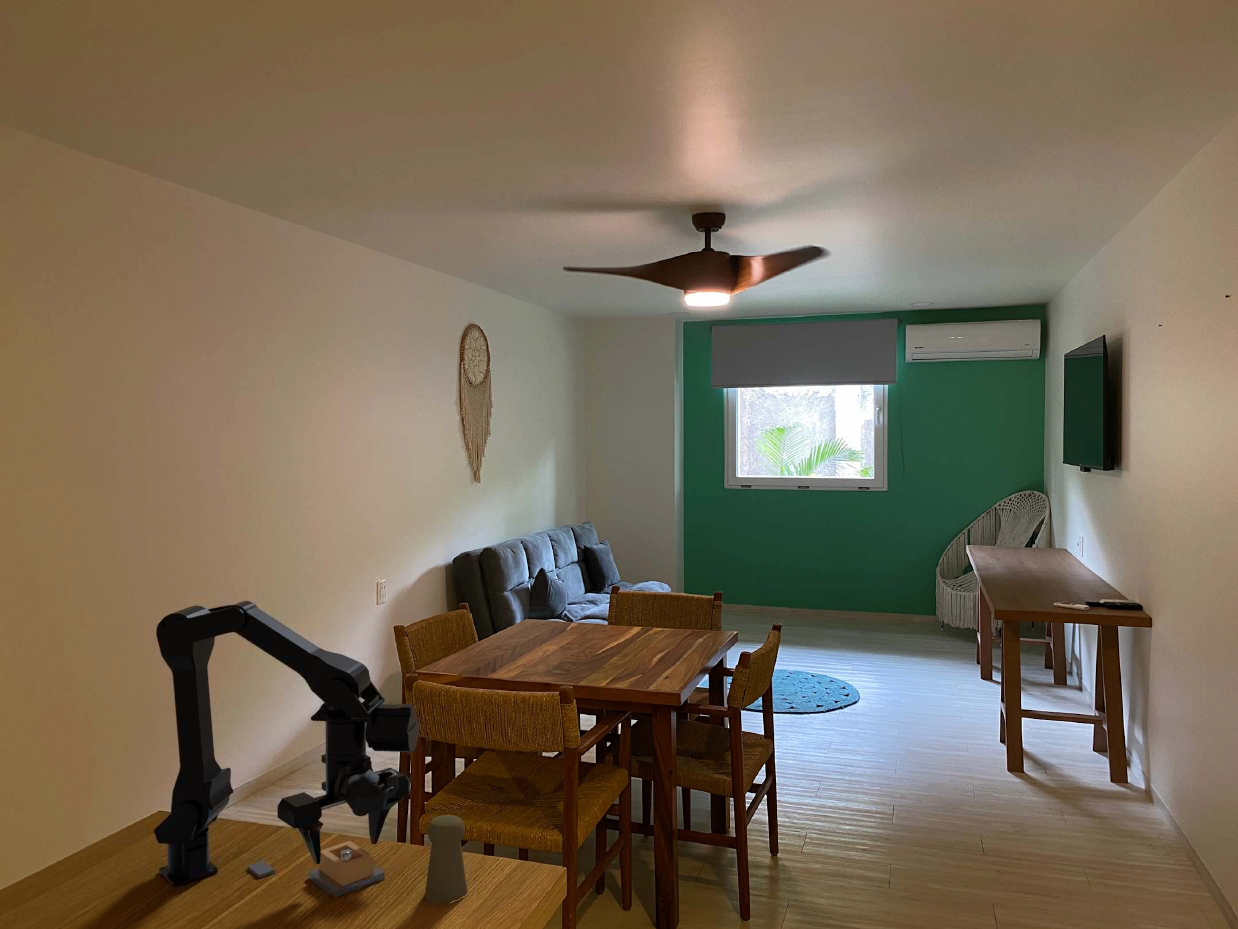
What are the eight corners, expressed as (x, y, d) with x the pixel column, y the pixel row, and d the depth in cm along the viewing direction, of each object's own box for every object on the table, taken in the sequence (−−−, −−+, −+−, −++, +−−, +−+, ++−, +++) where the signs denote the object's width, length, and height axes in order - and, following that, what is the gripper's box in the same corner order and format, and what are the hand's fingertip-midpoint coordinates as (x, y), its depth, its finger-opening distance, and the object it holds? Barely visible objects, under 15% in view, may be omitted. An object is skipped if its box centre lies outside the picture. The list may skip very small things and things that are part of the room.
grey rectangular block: (247, 869, 141) (247, 866, 141) (263, 864, 143) (263, 860, 143) (259, 878, 139) (259, 875, 139) (274, 873, 140) (274, 869, 140)
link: (319, 869, 139) (318, 851, 139) (349, 859, 143) (349, 841, 143) (342, 886, 134) (342, 867, 134) (373, 874, 138) (373, 856, 138)
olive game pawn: (458, 906, 131) (458, 829, 131) (417, 901, 132) (417, 825, 132) (473, 886, 137) (473, 811, 136) (434, 881, 138) (434, 808, 138)
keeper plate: (308, 878, 139) (308, 851, 139) (357, 860, 144) (357, 835, 144) (334, 897, 133) (334, 870, 133) (384, 878, 139) (384, 852, 139)
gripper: (312, 780, 126) (313, 894, 126) (430, 748, 139) (430, 851, 140) (275, 759, 134) (275, 867, 134) (390, 730, 147) (390, 828, 147)
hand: (346, 853), depth 139 cm, fingers open, 9 cm apart
